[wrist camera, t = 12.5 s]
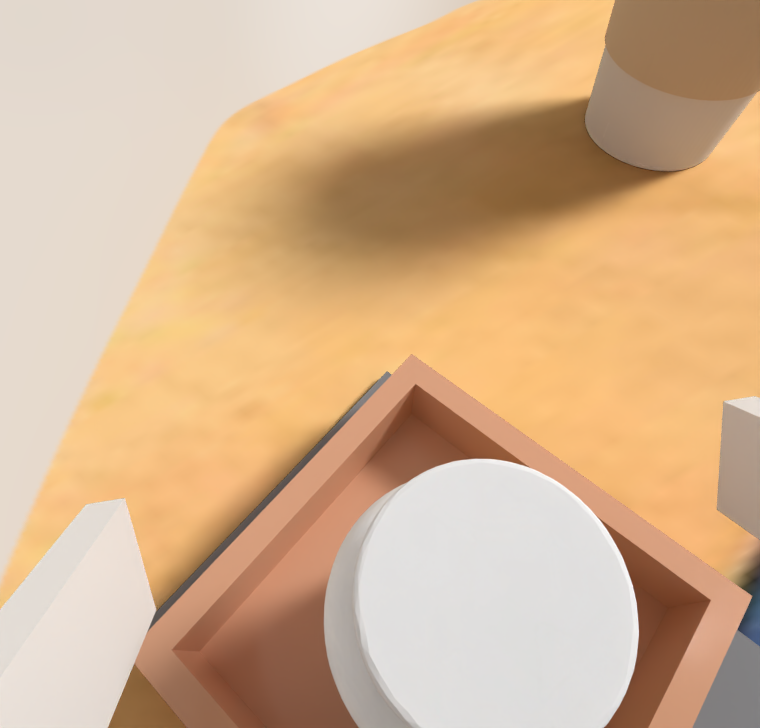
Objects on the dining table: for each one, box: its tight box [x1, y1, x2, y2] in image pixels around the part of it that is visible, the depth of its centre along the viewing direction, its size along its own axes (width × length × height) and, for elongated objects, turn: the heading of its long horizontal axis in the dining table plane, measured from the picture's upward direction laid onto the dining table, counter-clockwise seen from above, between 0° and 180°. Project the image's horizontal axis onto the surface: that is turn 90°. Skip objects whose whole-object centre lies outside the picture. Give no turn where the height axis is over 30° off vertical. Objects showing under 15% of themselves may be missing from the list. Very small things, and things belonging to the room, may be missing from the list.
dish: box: [134, 354, 752, 728], centre depth 15 cm, size 12×12×3 cm
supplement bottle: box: [324, 459, 639, 728], centre depth 11 cm, size 5×5×10 cm
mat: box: [147, 372, 760, 728], centre depth 16 cm, size 16×12×1 cm
